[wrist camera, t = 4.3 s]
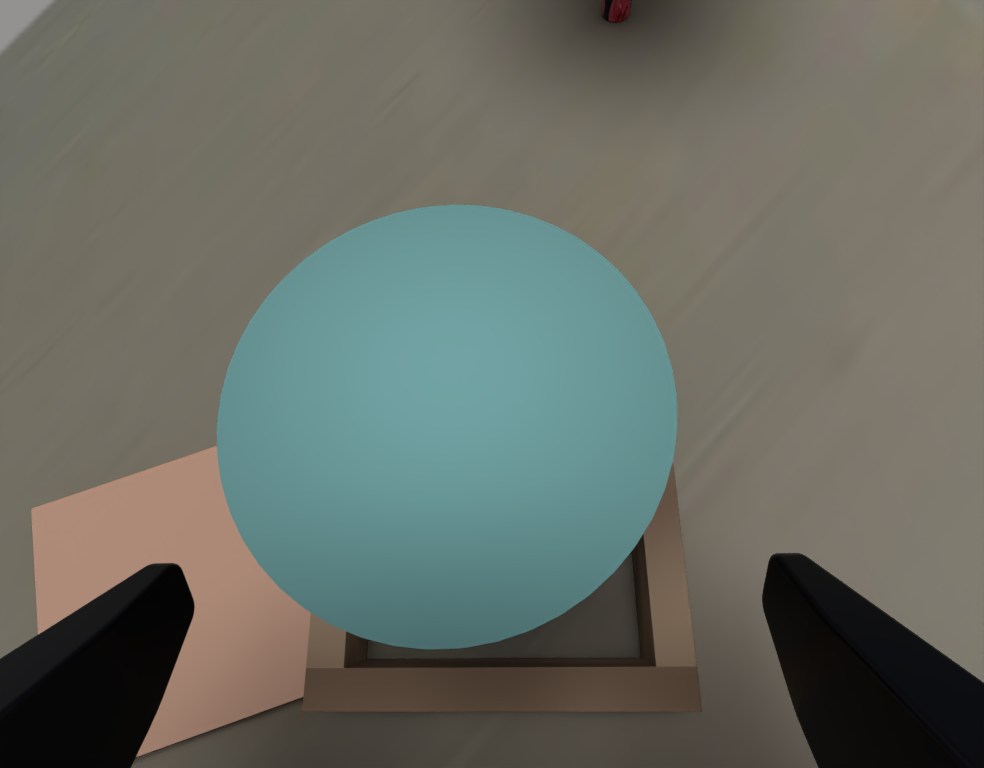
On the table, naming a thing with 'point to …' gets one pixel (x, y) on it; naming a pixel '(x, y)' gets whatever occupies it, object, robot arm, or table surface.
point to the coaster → (210, 576)
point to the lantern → (616, 10)
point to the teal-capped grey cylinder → (447, 427)
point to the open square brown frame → (532, 681)
